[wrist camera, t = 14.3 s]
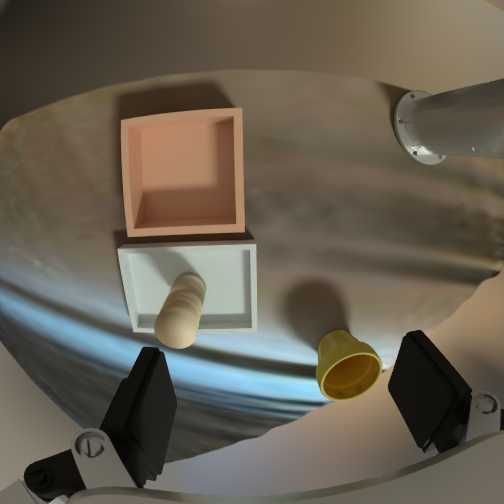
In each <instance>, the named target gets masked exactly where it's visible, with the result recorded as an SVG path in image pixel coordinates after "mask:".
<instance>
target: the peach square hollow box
mask: <svg viewBox="0 0 504 504" xmlns="http://www.w3.org/2000/svg"><path fill="white" fill-rule="evenodd" d="M121 157H122V179H123V194H124V206H125V216H126V226H127V234H128V237H137V236H157V235H180V234H204V233H233V232H245V217H244V176H243V129H242V108H223V109H206V110H193V111H182V112H173V113H164V114H157V115H149V116H143V117H136V118H130V119H125V120H121Z"/></svg>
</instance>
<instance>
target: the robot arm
mask: <svg viewBox="0 0 504 504" xmlns="http://www.w3.org/2000/svg"><path fill="white" fill-rule="evenodd" d="M394 127H395V132H396V135H397V138H398V140H399V142H400V144H401V146H402V147H403V149H404V150H405V152H406V153H407V154H408V155H409V156H410V157H411V158H413V159H414V160H415V161H417V162H419V163H422V164H428V165H433V164H437V163H440V162H441V161H443V160H444V159H445V158H446V157H447V156H465V157H481V158H493V159H504V78H503V79H499V80H495V81H491V82H486V83H481V84H477V85H472V86H468V87H464V88H459V89H455V90H451V91H447V92H443V93H439V94H435V95H431V94H430V93H427V92H425V91H419V90H417V91H411V92H408V93H406V94H404V95H403V96H402V97H401V98H400V99H399V101H398V102H397V105H396V107H395V111H394ZM388 390H389V392H390V394H391V396H392V398H393V400H394V402H395V403H396V405H397V407H398V409H399V411H400V413H401V415H402V417H403V418H404V420H405V422H406V424H407V426H408V428H409V430H410V432H411V434H412V436H413V438H414V440H415V441H416V444H417V446H418V447H420V448H422V450H423V452H424V453H426V452H428V451H431V450H433V449H435V448H437V450H438V452H437V455H436V456H434V457H431V458H429V459H427V460H424V461H421V462H418V463H416V464H413V465H410V466H408V467H405V468H402V469H399V470H396V471H393V472H390V473H386V474H383V475H380V476H376V477H372V478H369V479H365V480H361V481H357V482H353V483H348V484H343V485H339V486H333V487H328V488H323V489H316V490H310V491H301V492H293V493H283V494H269V495H244V496H243V495H238V496H237V495H235V496H234V495H233V496H232V495H204V494H190V493H179V492H170V491H162V490H152V489H145V488H144V486H143V485H145V484H146V480H152V481H156V477H157V475H160V474H161V473H162V470H163V465H164V461H165V456H166V451H167V447H168V442H169V438H170V434H171V429H172V425H173V421H174V417H175V412H176V408H177V399H176V396H175V392H174V389H173V385H172V381H171V378H170V374H169V370H168V366H167V363H166V359H165V355H164V352H163V351H160V350H159V348H157V347H143V348H142V349H141V351H140V354H139V356H138V358H137V360H136V362H135V364H134V366H133V368H132V370H131V372H130V374H129V376H128V378H124V379H123V380H122V381H121V383H120V385H119V387H118V390H117V392H116V394H115V396H114V398H113V400H112V402H111V404H110V406H109V409H108V411H107V413H106V415H105V417H104V420H103V422H102V424H101V426H100V428H99V429H96V428H87V429H83V430H81V431H79V432H78V433H77V434H76V435H74V437H73V439H72V441H71V449H69V450H67V451H64V452H61V453H59V454H56V455H53V456H51V457H48V458H45V459H42V460H39V461H36V462H34V463H32V464H30V465H29V466H28V467H27V468H26V470H25V473H24V480H23V481H20V480H19V479H18V480H17V481H15V482H14V483H12V484H11V485H10V486H8V487H7V488H5V489H4V490H2V491H1V492H0V504H504V410H503V409H501V406H500V402H499V400H498V398H497V397H496V396H495V395H493V394H492V393H489V392H487V391H482V392H478V393H476V394H474V396H473V397H472V395H471V392H472V389H471V388H470V387H469V385H468V384H467V383H466V382H465V381H464V379H463V378H462V377H461V375H460V374H459V373H458V372H457V371H456V369H455V368H454V367H453V366H452V365H451V364H450V362H449V361H448V360H447V359H446V358H445V356H444V355H443V354H442V353H441V352H440V351H439V349H438V348H437V347H436V346H435V345H434V344H433V343H432V342H431V340H430V339H429V338H428V337H427V336H426V335H425V334H424V333H423V331H421V330H416V331H411V332H408V333H407V334H406V336H404V337H403V339H402V343H401V346H400V350H399V353H398V356H397V359H396V362H395V366H394V369H393V372H392V375H391V377H390V380H389V383H388Z"/></svg>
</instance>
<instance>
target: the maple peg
mask: <svg viewBox="0 0 504 504" xmlns="http://www.w3.org/2000/svg"><path fill="white" fill-rule="evenodd" d="M205 293H206V284H205V282H204V280H203V279H202V278H201V277H200V276H199V275H197V274H195V273H192V272H185V273H182V274H180V275H179V276H178V277H177V278H176V279H175V281H174V283H173V285H172V287H171V289H170V291H169V294H168V296H167V298H166V300H165V302H164V304H163V306H162V308H161V310H160V312H159V314H158V317H157V319H156V321H155V323H154V331H155V334H156V336H157V338H158V339H159V340H160V341H161V342H162V343H163V344H165V345H167V346H169V347H172V348H178V349H179V348H185V347H188V346H190V345H191V344H192V343H193V342H194V341H195V339H196V336H197V331H198V326H199V321H200V316H201V312H202V307H203V302H204V298H205Z"/></svg>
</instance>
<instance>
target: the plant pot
mask: <svg viewBox="0 0 504 504" xmlns="http://www.w3.org/2000/svg"><path fill="white" fill-rule="evenodd" d="M381 372H382V362H381V359H380V358H379V356H378V355H377V353H376V352H375V351H374V349H373V348H372V347H371V346H370V345H368V344H366V343H364V342H360V341H358V340H357V339H356V338H355V337H353V336H352V335H351V334H350V333H349V332H347V331H345V330H335V331H332V332H329V333H328V334H326V335H325V336H324V337H323V338H322V339H321V340H320V342H319V344H318V366H317V369H316V378H317V382H318V385H319V388H320V390H321V392H322V394H323V395H324V396H325V397H326V398H328V399H330V400H334V401H347V400H351V399H354V398H357V397H359V396H361V395H362V394H364V393H366V392H367V391H368V390H370V389H371V388H372V387H373V386H374V385H375V384H376V382H377V380H378V379H379V377H380V375H381Z"/></svg>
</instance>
